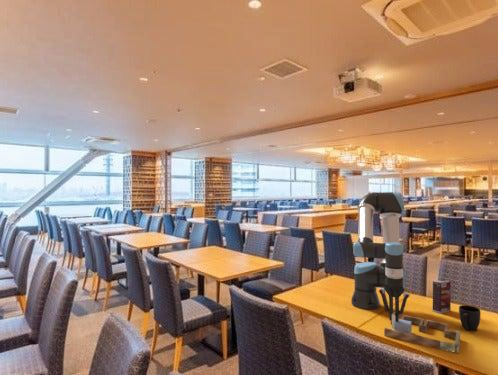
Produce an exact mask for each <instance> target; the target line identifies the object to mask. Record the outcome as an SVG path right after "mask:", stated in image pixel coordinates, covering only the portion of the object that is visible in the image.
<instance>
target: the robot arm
mask: <svg viewBox="0 0 498 375" xmlns="http://www.w3.org/2000/svg"><path fill="white" fill-rule="evenodd" d="M404 202H405V201H404V198H403V194H402V193H401V192H395V191H394V192H393V191H392V192H390V191H387V192H386V191H385V192H384V191H383V192H381V191H379V192H378V191H377V192H376V191H374V192H369V193H367V194H365V195H363V197H362V198H361V199H360V200H359V202H358V204H357V213H358V229H357V230H358V231H357V232H358V233H357V241H354V242H353V244H352V245H353V248H352V249H353V252H352V253H353V255H354V257H357V258H369V259H380V260H381V259H382V261H380V265H377V263H376V262H373V261H365V262H359V263H356V264H355V265H354V271H353V273H354V291H353V294H352V296H351V300H350V301H351V305H352V306H354V307H356V308H358V309H363V310H377V309H379V308H380V307H381V301H380V299H379V296H378V293H377V288H380V289H379V290H378V292H379V294H380V296H381V299H382V303H383V308H384V311H385V312H386V313H388V314H389V317H388V318H389V319H388V320H389V321H390V322H391V321H392V325H391V329H392V330H395V325H394V323H395V321H396V322H398V321H399V319H400V315H403V313H404V311H405V308H406V303H407V300H408V298H409V297H410V295H411V294H410V293H408V292H406V291H405V286H406V282H407V281H406V280H407V268H406V267H404V245H403V244H402V243H401V242H400V218H401V217H402V214H403V213H405V203H404ZM375 213H379V216H380V217H381V218H382V242H374V214H375ZM386 294H387V295H388V300H387V296H386ZM401 296H403V299H402V302H401V306H400V297H401Z"/></svg>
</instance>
